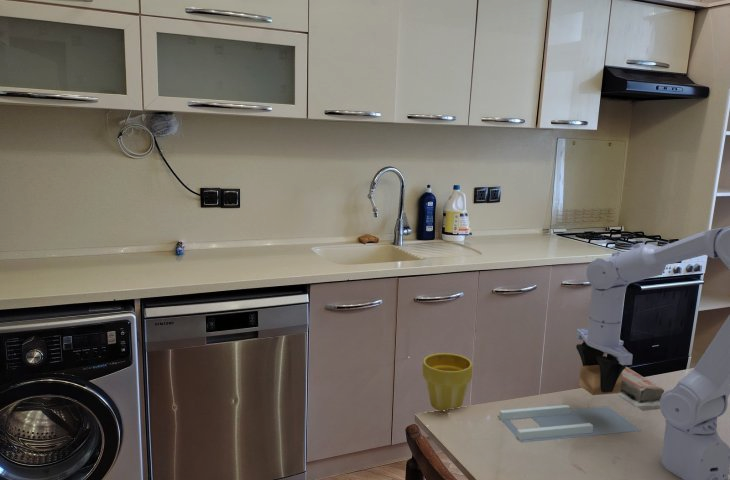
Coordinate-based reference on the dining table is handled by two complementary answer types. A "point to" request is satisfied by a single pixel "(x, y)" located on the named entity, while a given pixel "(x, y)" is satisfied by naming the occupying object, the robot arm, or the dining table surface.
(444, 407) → the plant pot
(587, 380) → the block
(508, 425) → the channel
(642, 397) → the packaged product
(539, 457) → the dining table surface
